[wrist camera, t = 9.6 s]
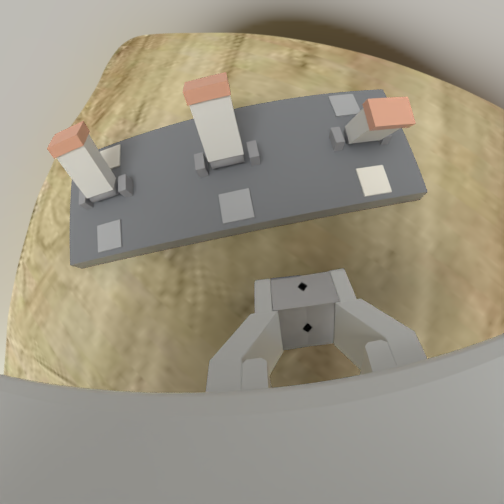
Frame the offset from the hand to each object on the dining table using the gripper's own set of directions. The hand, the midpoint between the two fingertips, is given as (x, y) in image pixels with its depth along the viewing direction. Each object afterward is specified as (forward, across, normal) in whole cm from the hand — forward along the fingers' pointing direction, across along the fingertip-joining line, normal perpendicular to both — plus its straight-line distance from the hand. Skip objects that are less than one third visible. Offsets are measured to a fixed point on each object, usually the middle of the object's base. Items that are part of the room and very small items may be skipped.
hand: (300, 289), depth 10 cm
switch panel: (+20, +4, +2) cm, 20 cm away
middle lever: (+18, +4, 0) cm, 18 cm away
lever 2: (+18, -8, -1) cm, 20 cm away
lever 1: (+17, +16, 0) cm, 23 cm away
